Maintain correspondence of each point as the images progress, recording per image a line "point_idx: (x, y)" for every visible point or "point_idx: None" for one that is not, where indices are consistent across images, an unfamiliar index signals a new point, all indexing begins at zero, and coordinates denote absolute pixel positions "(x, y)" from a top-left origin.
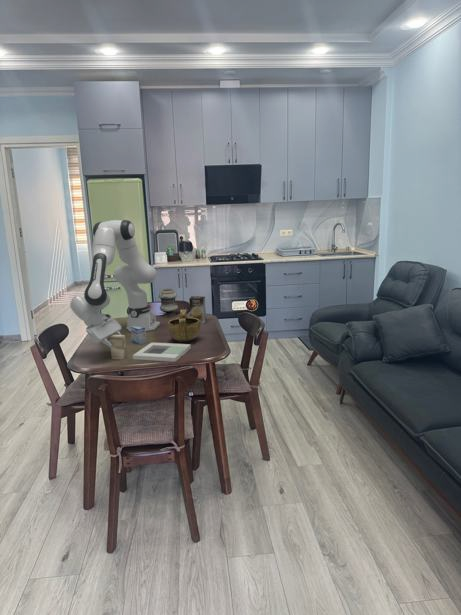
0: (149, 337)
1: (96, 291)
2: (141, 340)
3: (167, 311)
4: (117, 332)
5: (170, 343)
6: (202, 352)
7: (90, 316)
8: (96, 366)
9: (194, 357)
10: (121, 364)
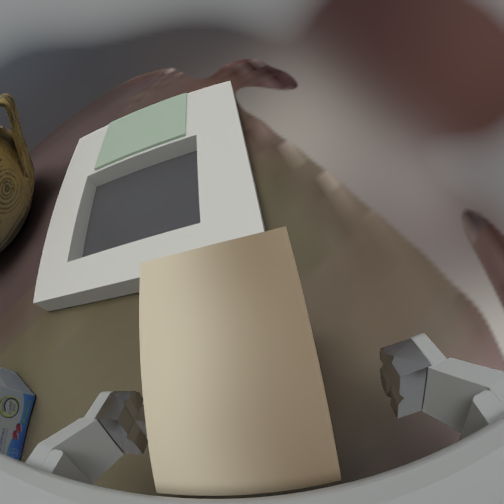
0: None
1: None
2: (13, 383)
3: None
4: (58, 469)
5: (56, 204)
6: (130, 103)
7: None
8: None
9: (177, 88)
10: (388, 262)
